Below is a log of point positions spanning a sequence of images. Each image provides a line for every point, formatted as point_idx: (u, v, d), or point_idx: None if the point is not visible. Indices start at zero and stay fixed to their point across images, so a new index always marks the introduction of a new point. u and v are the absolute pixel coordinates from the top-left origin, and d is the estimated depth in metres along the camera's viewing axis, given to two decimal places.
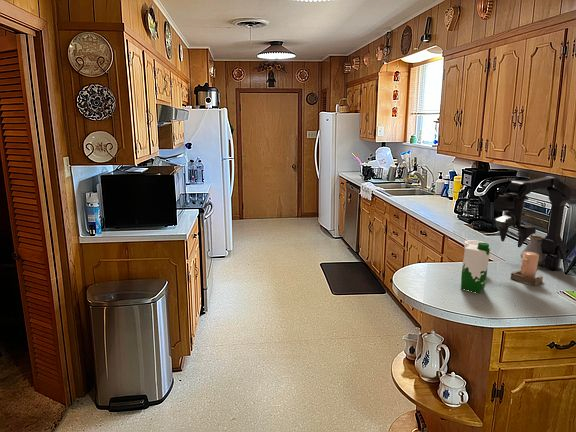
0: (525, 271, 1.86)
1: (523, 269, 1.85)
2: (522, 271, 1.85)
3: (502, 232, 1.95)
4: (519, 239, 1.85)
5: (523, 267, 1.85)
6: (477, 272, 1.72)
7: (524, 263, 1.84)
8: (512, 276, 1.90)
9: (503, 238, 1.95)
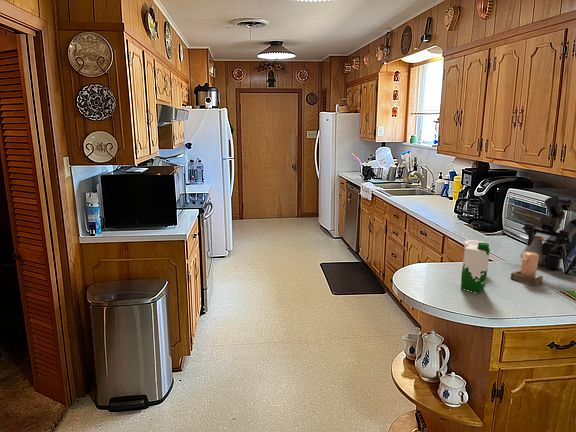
0: (525, 271, 1.86)
1: (523, 269, 1.85)
2: (522, 271, 1.85)
3: (531, 237, 1.95)
4: (555, 242, 1.87)
5: (523, 267, 1.85)
6: (477, 272, 1.72)
7: (524, 263, 1.84)
8: (512, 276, 1.90)
9: (530, 243, 1.95)
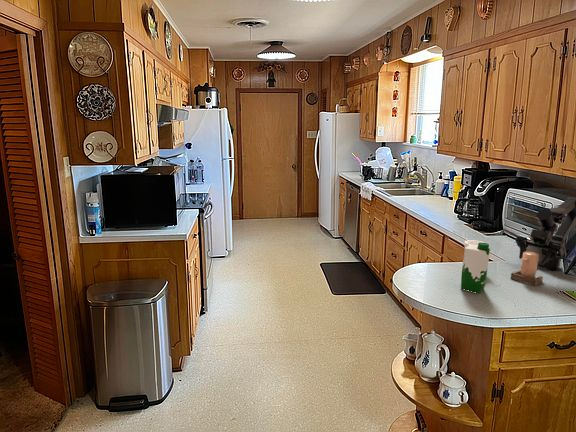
0: (525, 271, 1.86)
1: (523, 269, 1.85)
2: (522, 271, 1.85)
3: (523, 250, 1.93)
4: (546, 256, 1.84)
5: (523, 267, 1.85)
6: (477, 272, 1.72)
7: (524, 263, 1.84)
8: (512, 276, 1.90)
9: (521, 256, 1.92)
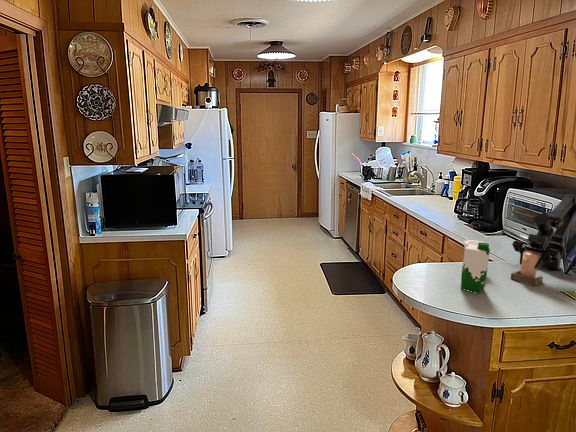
0: (525, 271, 1.86)
1: (523, 269, 1.85)
2: (522, 271, 1.85)
3: None
4: (540, 260, 1.85)
5: (523, 267, 1.85)
6: (477, 272, 1.72)
7: (524, 263, 1.84)
8: (512, 276, 1.90)
9: None
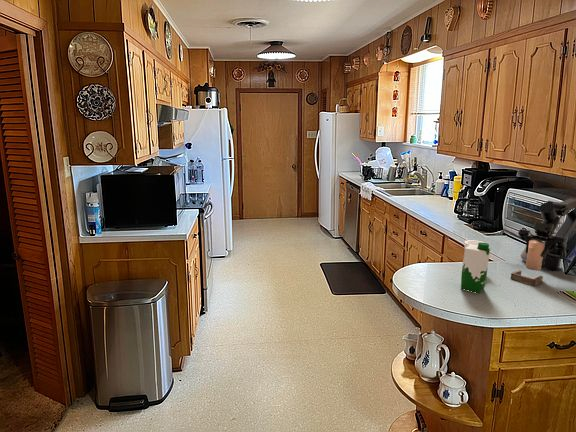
0: (531, 259, 1.87)
1: (529, 257, 1.87)
2: (528, 259, 1.87)
3: None
4: (546, 248, 1.86)
5: (529, 255, 1.86)
6: (477, 272, 1.72)
7: (530, 251, 1.86)
8: (512, 276, 1.90)
9: None
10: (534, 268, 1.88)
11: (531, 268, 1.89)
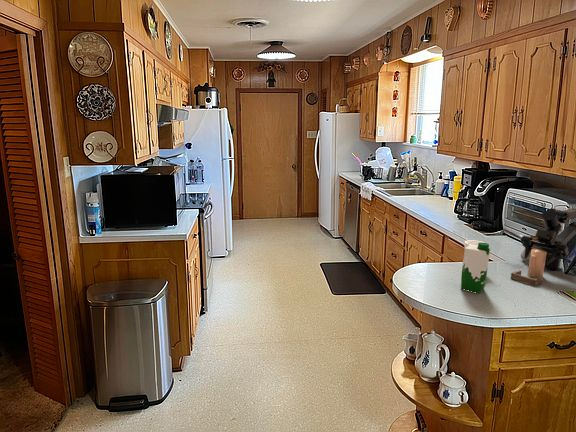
0: (533, 267, 1.90)
1: (531, 265, 1.90)
2: (530, 267, 1.90)
3: (528, 249, 1.96)
4: (552, 255, 1.88)
5: (531, 263, 1.89)
6: (477, 272, 1.72)
7: (532, 260, 1.89)
8: (512, 276, 1.90)
9: (526, 255, 1.95)
10: (535, 276, 1.91)
11: (533, 276, 1.92)
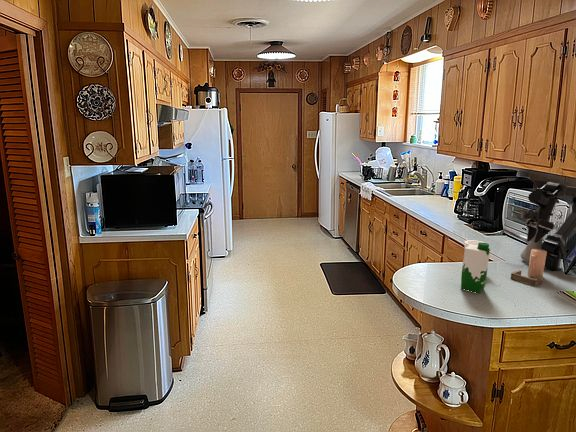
0: (533, 267, 1.90)
1: (531, 265, 1.90)
2: (530, 267, 1.90)
3: (530, 232, 1.99)
4: (536, 233, 1.89)
5: (531, 263, 1.89)
6: (477, 272, 1.72)
7: (532, 259, 1.89)
8: (512, 276, 1.90)
9: (529, 238, 1.99)
10: (535, 276, 1.91)
11: (533, 276, 1.92)
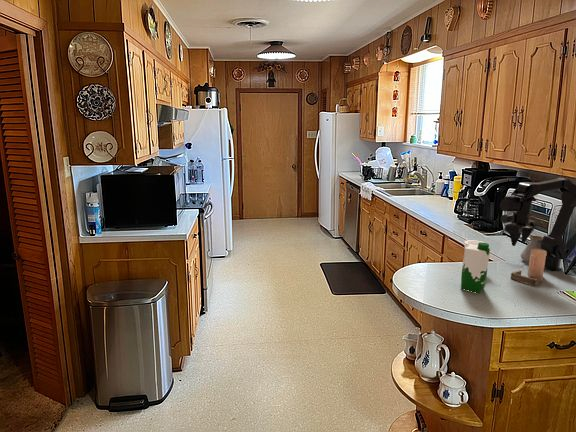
0: (533, 267, 1.90)
1: (531, 265, 1.90)
2: (530, 267, 1.90)
3: (523, 233, 2.00)
4: None
5: (531, 263, 1.90)
6: (477, 272, 1.72)
7: (532, 259, 1.89)
8: (512, 276, 1.90)
9: (523, 239, 2.00)
10: (535, 276, 1.91)
11: (533, 276, 1.92)
